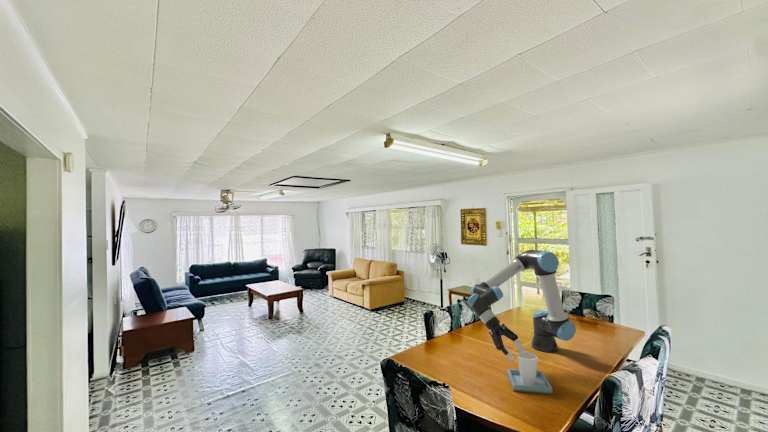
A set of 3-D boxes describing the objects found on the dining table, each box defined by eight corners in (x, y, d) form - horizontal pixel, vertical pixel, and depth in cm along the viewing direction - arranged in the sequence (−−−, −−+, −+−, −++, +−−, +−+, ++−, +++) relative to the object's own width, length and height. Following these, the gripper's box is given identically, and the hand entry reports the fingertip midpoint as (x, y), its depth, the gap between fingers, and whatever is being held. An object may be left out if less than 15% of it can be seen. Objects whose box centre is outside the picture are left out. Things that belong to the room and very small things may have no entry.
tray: (542, 376, 161) (541, 371, 161) (552, 394, 144) (552, 387, 145) (507, 374, 165) (507, 368, 165) (513, 391, 148) (513, 384, 148)
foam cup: (514, 378, 159) (513, 352, 159) (531, 376, 160) (530, 351, 160) (524, 387, 150) (523, 360, 150) (542, 386, 150) (541, 359, 151)
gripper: (496, 318, 180) (523, 352, 168) (473, 329, 162) (502, 367, 151) (504, 311, 176) (533, 344, 164) (482, 321, 159) (512, 359, 147)
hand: (518, 355), depth 158 cm, fingers open, 13 cm apart
